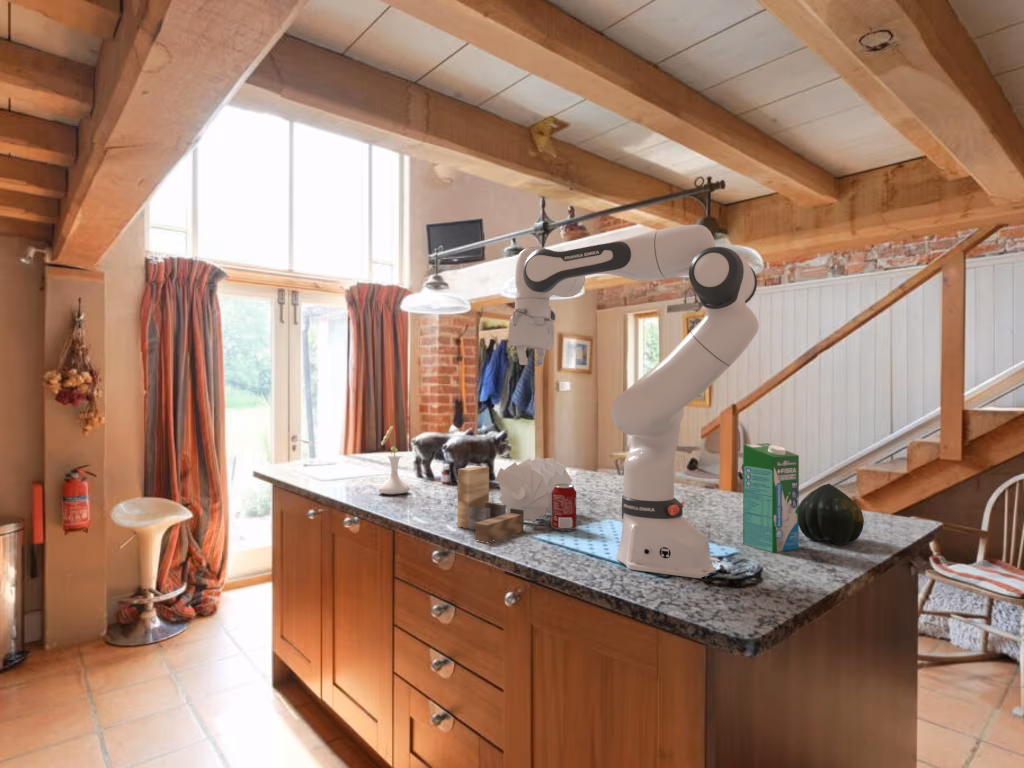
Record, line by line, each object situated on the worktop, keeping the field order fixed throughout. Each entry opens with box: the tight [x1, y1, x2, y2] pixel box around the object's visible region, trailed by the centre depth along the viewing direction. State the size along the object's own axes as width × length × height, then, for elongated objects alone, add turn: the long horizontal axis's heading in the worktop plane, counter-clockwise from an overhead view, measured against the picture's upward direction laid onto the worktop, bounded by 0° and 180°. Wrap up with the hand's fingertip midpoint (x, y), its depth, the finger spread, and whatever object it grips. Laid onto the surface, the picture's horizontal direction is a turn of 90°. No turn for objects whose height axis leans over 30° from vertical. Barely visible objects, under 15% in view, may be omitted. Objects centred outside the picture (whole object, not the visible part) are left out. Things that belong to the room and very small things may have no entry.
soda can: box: [551, 484, 577, 532], centre depth 161 cm, size 7×7×12 cm
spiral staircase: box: [494, 455, 573, 523], centre depth 177 cm, size 18×18×25 cm
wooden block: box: [474, 508, 524, 543], centre depth 153 cm, size 16×4×6 cm, turn 145°
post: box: [456, 465, 507, 530], centre depth 163 cm, size 10×9×16 cm
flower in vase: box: [377, 425, 411, 496], centre depth 212 cm, size 13×11×25 cm
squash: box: [799, 483, 865, 546], centre depth 151 cm, size 14×15×15 cm
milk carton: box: [742, 442, 800, 554], centre depth 144 cm, size 9×9×25 cm
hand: (531, 365), depth 151 cm, fingers open, 8 cm apart
